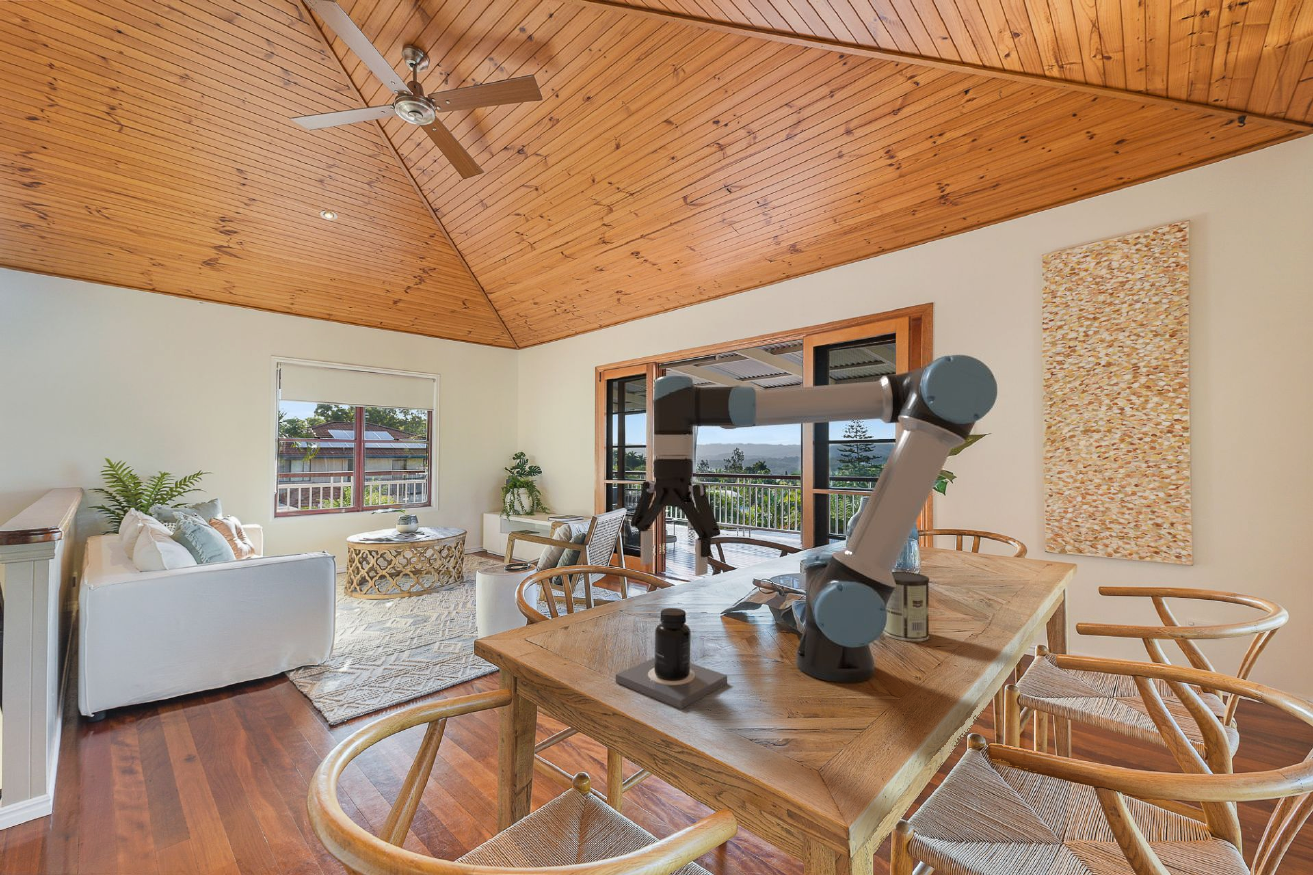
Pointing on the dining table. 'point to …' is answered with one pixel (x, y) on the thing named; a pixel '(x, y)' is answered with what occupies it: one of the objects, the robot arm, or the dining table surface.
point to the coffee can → (908, 608)
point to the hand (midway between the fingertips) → (672, 568)
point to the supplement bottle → (672, 646)
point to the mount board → (672, 683)
